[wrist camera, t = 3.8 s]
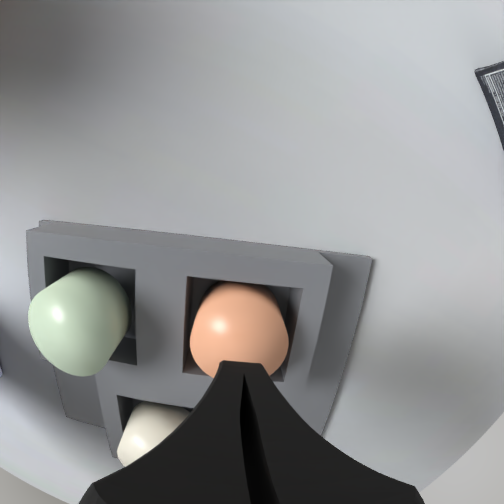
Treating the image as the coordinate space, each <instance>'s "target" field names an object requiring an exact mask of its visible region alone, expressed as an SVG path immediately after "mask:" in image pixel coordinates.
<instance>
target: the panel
mask: <svg viewBox="0 0 504 504" xmlns="http://www.w3.org/2000/svg"><path fill="white" fill-rule="evenodd" d="M26 243H27V263H28V277H29V288H30V297H31V302H32V300H33V298H34V297H35V296H36V295H37V294H38V293H39V292H41V291H42V290H44V289H45V288H47V287H48V286H50V285H51V284H53V283H54V282H56V281H58V280H59V279H61V278H62V277H64V276H65V275H67V274H69V273H70V272H72V271H73V270H75V269H78V268H81V267H95V268H98V269H101V270H103V271H105V272H107V273H109V274H110V275H112V276H113V277H114V278H115V279H116V280H117V281H118V282H119V283H120V284H121V286H122V287H123V288H124V290H125V292H126V294H127V296H128V298H129V301H130V304H131V310H132V319H131V324H130V327H129V329H128V331H127V333H126V334H125V336H124V337H123V339H122V340H121V342H120V343H119V345H118V346H117V348H116V349H115V351H114V352H113V354H112V355H111V357H110V358H109V360H108V361H107V363H106V365H105V366H104V367H103V369H101V370H100V371H99V372H98V373H96V374H93V375H90V376H75V375H71V374H68V373H66V372H64V371H62V370H60V369H58V368H57V367H55V366H54V365H53V366H54V371H55V376H56V380H57V384H58V388H59V392H60V396H61V400H62V403H63V407H64V410H65V414H66V417H69V418H72V419H75V420H78V421H82V422H85V423H88V424H92V425H96V426H99V427H103V428H105V429H106V433H107V437H108V441H109V445H110V449H111V453H112V457H115V458H118V455H117V449H118V446H119V443H120V441H121V438H122V436H123V433H124V430H125V428H126V425H127V423H128V420H129V418H130V415H131V413H132V410H133V409H134V407H135V406H137V405H138V404H140V403H142V402H144V401H150V402H156V403H162V404H168V405H174V406H181V407H183V408H184V409H186V410H187V411H188V412H190V413H191V411H192V410H193V409H194V407H195V406H196V405H197V404H198V402H199V401H200V400H201V398H202V397H203V395H204V394H205V392H206V391H207V389H208V387H209V386H210V384H211V382H212V380H213V379H214V378H212V377H211V376H209V375H208V374H206V373H205V372H204V371H203V370H202V369H201V368H200V367H199V366H198V365H197V363H196V362H195V360H194V358H193V355H192V353H191V348H190V336H191V332H192V328H193V325H194V321H195V318H196V314H197V311H198V307H199V304H200V301H201V299H202V297H203V295H204V294H205V292H206V291H207V290H208V289H209V288H210V287H211V286H212V285H214V284H215V283H217V282H219V281H221V280H226V281H235V282H244V283H254V284H263V285H265V286H266V287H267V288H268V289H269V290H270V291H271V292H272V293H273V295H274V296H275V298H276V300H277V303H278V306H279V309H280V312H281V315H282V318H283V321H284V324H285V327H286V330H287V334H288V341H289V345H288V351H287V354H286V357H285V359H284V361H283V362H282V364H281V365H280V367H279V368H278V369H277V370H276V371H275V372H274V373H272V374H271V375H270V378H271V379H272V381H273V382H274V384H275V385H276V387H277V388H278V390H279V391H280V392H281V394H282V395H283V396H284V397H285V399H286V400H287V401H288V403H289V404H290V405H291V406H292V407H293V409H294V410H295V411H296V412H297V413H298V414H299V415H300V417H301V418H302V419H303V420H304V421H305V422H306V423H307V424H308V425H309V426H310V427H311V428H312V429H313V430H315V431H316V432H317V433H318V434H319V435H320V436H321V434H322V432H323V429H324V426H325V424H326V421H327V418H328V416H329V413H330V410H331V407H332V404H333V401H334V399H335V396H336V393H337V390H338V387H339V384H340V381H341V377H342V374H343V371H344V368H345V365H346V361H347V358H348V355H349V351H350V348H351V344H352V341H353V337H354V334H355V330H356V326H357V323H358V319H359V315H360V311H361V307H362V303H363V299H364V295H365V290H366V286H367V282H368V277H369V273H370V268H371V263H372V258H371V257H369V256H362V255H354V254H346V253H338V252H330V251H321V250H313V249H305V248H296V247H288V246H279V245H271V244H262V243H253V242H245V241H236V240H227V239H218V238H209V237H200V236H191V235H182V234H173V233H164V232H155V231H146V230H136V229H127V228H117V227H108V226H98V225H88V224H78V223H69V222H59V221H48V220H42V221H39V227H36V228H33V229H29V230H26ZM39 353H40V357H41V359H43V360H46V361H48V360H47V359H46V358H45V357H44V355H43V354H42V353H41V352H40V350H39Z"/></svg>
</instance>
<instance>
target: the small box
mask: <svg viewBox="0 0 504 504" xmlns="http://www.w3.org/2000/svg"><path fill="white" fill-rule="evenodd" d="M475 74H476V77H477V79H478V81H479V83H480V85H481V88H482V91H483V93H484V95H485V97H486V100H487V102H488V105H489V108H490V110H491V113H492V116H493V118H494V121H495V124H496V127H497V130H498V133H499V136H500V139H501V142H502V146H503V149H504V61H502V62H499V63H497V64H494V65H490V66H487V67H483V68H479V69H476V70H475Z"/></svg>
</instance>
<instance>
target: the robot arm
mask: <svg viewBox="0 0 504 504" xmlns="http://www.w3.org/2000/svg"><path fill="white" fill-rule="evenodd" d="M1 376H2V370H1V367H0V377H1ZM79 504H425V503H424V501H423V499H422V497H421V496H420V494H419V492H418V491H417V489H416V488H415V486H412V485H409V484H406V483H404V482H401V481H398V480H396V479H393V478H390V477H388V476H385V475H383V474H381V473H378V472H376V471H374V470H372V469H371V468H369V467H367V466H365V465H363V464H361V463H359V462H357V461H356V460H354V459H352V458H351V457H349V456H348V455H346V454H345V453H343V452H342V451H340V450H339V449H337V448H336V447H334V446H333V445H332V444H330V443H329V442H328V441H326V440H325V439H324V438H323V437H322V436H320V435H319V434H318V433H317V432H316V431H315V430H313V429H312V428H311V427H310V426H309V425H308V424H307V423H306V422H305V421H304V420H303V419H302V418H301V417H300V415H299V414H298V413H297V412H296V411H295V410H294V409H293V407H292V406H291V405H290V404H289V403H288V401H287V400H286V399H285V397H284V396H283V395H282V394H281V392H280V391H279V390H278V388H277V387H276V385H275V384H274V382H273V381H272V379H271V378H270V376H269V375H268V373H267V371H266V370H265V368H264V366H263V365H262V364H261V363H250V362H238V361H227V360H223V361H221V362H220V363H219V367H218V370H217V372H216V375H215V377H214V379H213V380H212V382H211V384H210V386H209V387H208V389H207V391H206V392H205V394H204V395H203V397H202V398H201V400H200V401H199V402H198V404H197V405H196V406H195V407H194V409H193V410H192V411H191V413H190V414H189V415H188V416H187V417H186V418H185V420H184V421H183V422H182V423H181V424H180V425H179V426H178V427H177V428H176V429H175V430H174V431H173V432H172V433H171V434H169V435H168V436H167V437H166V438H165V439H164V440H163V441H162V442H160V443H159V444H158V445H157V446H155V447H154V448H153V449H151V450H150V451H149V452H147V453H146V454H144V455H143V456H141V457H140V458H138V459H137V460H135V461H134V462H132V463H131V464H129V465H127V466H126V467H124V468H122V469H120V470H118V471H116V472H114V473H112V474H110V475H108V476H106V477H104V478H102V479H100V480H98V481H96V482H94V483H92V484H91V485H90V487H89V488H88V490H87V491H86V493H85V494H84V496H83V497H82V499H81V501H80V502H79Z"/></svg>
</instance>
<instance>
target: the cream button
mask: <svg viewBox="0 0 504 504" xmlns="http://www.w3.org/2000/svg"><path fill="white" fill-rule="evenodd" d="M189 414H190V412H188V411H187V410H186V409H184V408H183V407H181V406H174V405H168V404H162V403H156V402H150V401H144V402H142V403H140V404H138V405H137V406H135V407H134V409H133V410H132V413H131V415H130V418H129V420H128V423H127V425H126V428H125V430H124V433H123V436H122V438H121V441H120V443H119V446H118V449H117V455H118V458H119V460H120V462H121V463H122V464H123V465H124V466H125V467H126V466H127V465H129V464H131V463H132V462H134V461H135V460H137V459H138V458H140V457H141V456H143V455H144V454H146V453H147V452H149V451H150V450H151V449H153V448H154V447H155V446H157V445H158V444H159V443H160V442H162V441H163V440H164V439H165V438H166V437H167V436H168V435H169V434H171V433H172V432H173V431H174V430H175V429H176V428H177V427H178V426H179V425H180V424H181V423H182V422H183V421H184V420H185V418H186V417H187V416H188V415H189Z"/></svg>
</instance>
